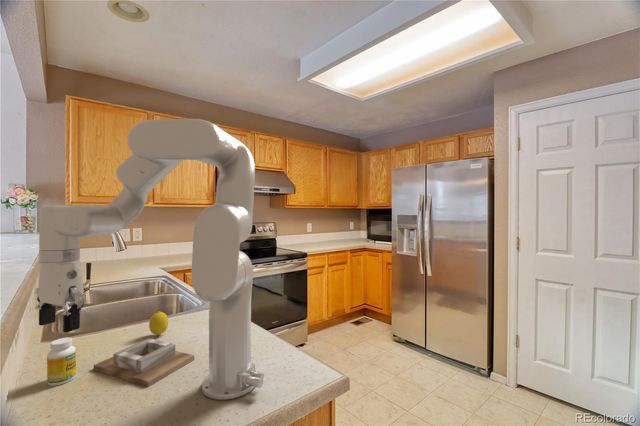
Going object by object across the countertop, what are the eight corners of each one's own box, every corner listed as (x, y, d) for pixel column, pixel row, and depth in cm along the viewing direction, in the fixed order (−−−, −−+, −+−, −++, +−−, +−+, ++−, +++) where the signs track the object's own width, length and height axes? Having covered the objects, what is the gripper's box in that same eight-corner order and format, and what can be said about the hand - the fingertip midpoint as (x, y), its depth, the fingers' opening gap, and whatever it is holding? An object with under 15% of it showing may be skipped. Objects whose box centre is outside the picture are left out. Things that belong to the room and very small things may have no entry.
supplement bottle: (55, 375, 77) (55, 337, 76) (80, 373, 78) (80, 335, 78) (41, 387, 71) (41, 346, 71) (68, 384, 72) (68, 344, 72)
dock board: (194, 359, 85) (194, 344, 85) (148, 386, 72) (148, 368, 72) (143, 347, 92) (143, 333, 92) (93, 369, 79) (93, 353, 79)
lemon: (160, 339, 97) (160, 314, 97) (145, 338, 99) (145, 313, 99) (172, 333, 103) (171, 309, 103) (157, 331, 104) (157, 308, 104)
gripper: (99, 257, 74) (98, 327, 75) (56, 251, 81) (56, 316, 81) (63, 261, 67) (62, 339, 68) (20, 255, 74) (19, 326, 74)
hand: (59, 326), depth 74 cm, fingers open, 9 cm apart
